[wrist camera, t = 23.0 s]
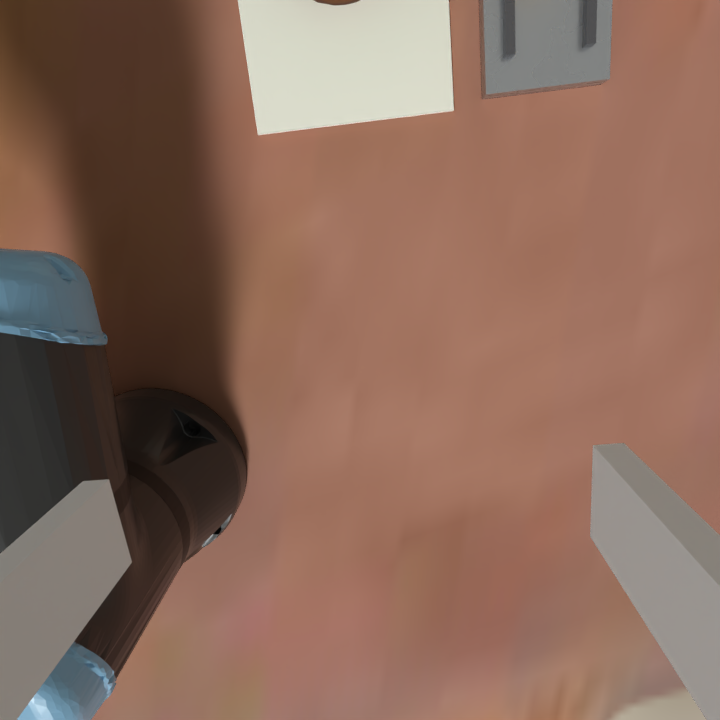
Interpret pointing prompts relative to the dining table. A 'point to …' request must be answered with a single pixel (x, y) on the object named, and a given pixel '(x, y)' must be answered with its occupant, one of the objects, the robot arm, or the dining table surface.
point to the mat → (346, 61)
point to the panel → (543, 45)
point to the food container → (336, 2)
